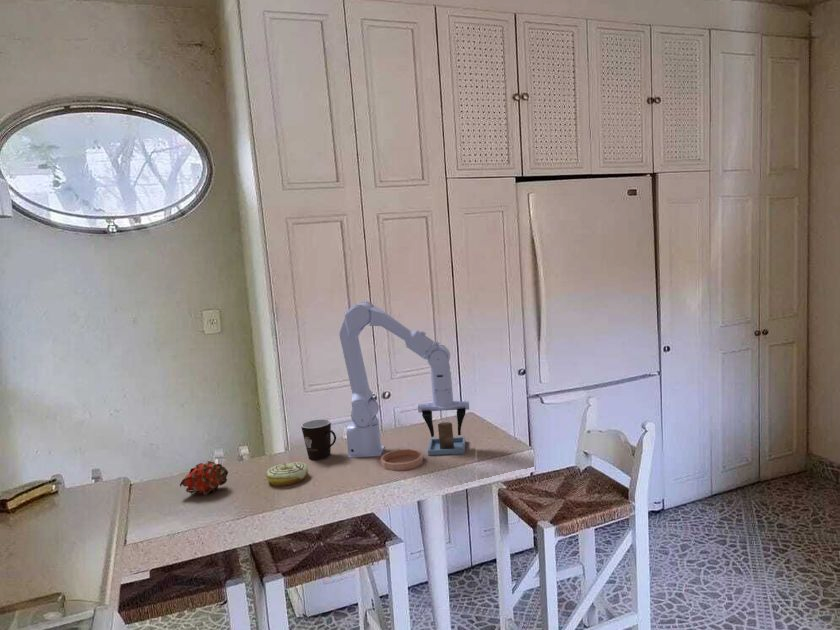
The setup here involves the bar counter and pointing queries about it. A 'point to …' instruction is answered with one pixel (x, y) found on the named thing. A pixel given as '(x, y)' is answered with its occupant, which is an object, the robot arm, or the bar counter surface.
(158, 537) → the bar counter surface
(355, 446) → the robot arm
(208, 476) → the dragon fruit
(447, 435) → the walnut cylinder
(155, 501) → the bar counter surface
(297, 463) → the decorated donut
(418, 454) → the terracotta bowl
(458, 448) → the slate tray
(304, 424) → the coffee mug
